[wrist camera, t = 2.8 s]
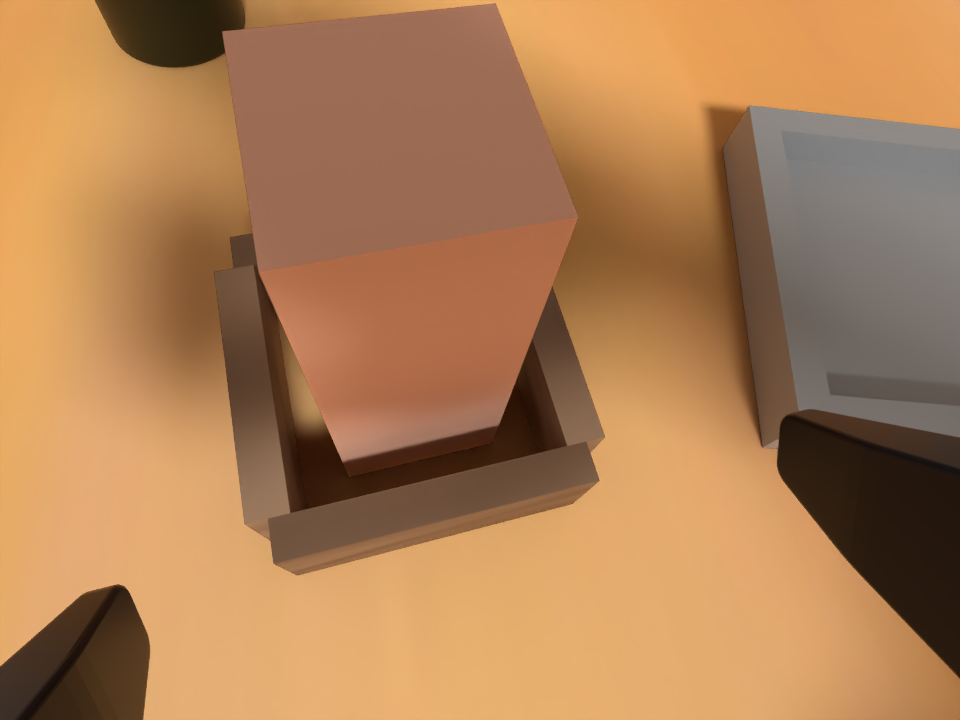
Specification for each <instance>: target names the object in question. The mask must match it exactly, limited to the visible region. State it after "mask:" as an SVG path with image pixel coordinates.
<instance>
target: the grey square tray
mask: <svg viewBox="0 0 960 720" xmlns="http://www.w3.org/2000/svg"><path fill="white" fill-rule="evenodd" d="M723 154H724V162H725V169H726V177H727V184H728V192H729V199H730V207H731V214H732V222H733V229H734V236H735V244H736V251H737V259H738V266H739V274H740V281H741V289H742V296H743V304H744V311H745V318H746V326H747V333H748V341H749V348H750V356H751V363H752V371H753V378H754V386H755V393H756V401H757V408H758V415H759V423H760V430H761V438H762V445H763V447H764V448H776V449H778V441H779V428H780V422H781V420H782V418H783V417H784V416H786V415H787V414H791V413H794V412H798V411H802V410H806V409H815V410H821V411H826V412H831V413H836V414H841V415H847V416H852V417H857V418H862V419H867V420H873V421H878V422H883V423H888V424H893V425H899V426H904V427H909V428H914V429H919V430H925V431H930V432H935V433H940V434H945V435H951V436H956V437H960V129H954V128H945V127H936V126H927V125H918V124H909V123H901V122H892V121H883V120H874V119H865V118H856V117H847V116H838V115H829V114H820V113H812V112H803V111H794V110H785V109H776V108H767V107H758V106H749V107H748V108H747V110H746V111H745V113H744V115H743V116H742V118H741V119H740V121H739V123H738V124H737V126H736V127H735V129H734V131H733V132H732V134H731V135H730V137H729V139H728V140H727V142H726V143H725V145H724V147H723Z"/></svg>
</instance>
